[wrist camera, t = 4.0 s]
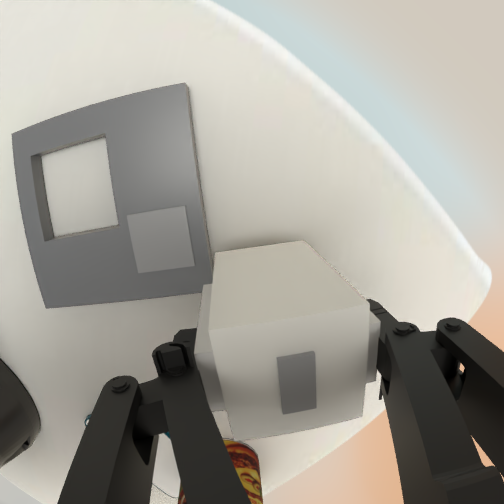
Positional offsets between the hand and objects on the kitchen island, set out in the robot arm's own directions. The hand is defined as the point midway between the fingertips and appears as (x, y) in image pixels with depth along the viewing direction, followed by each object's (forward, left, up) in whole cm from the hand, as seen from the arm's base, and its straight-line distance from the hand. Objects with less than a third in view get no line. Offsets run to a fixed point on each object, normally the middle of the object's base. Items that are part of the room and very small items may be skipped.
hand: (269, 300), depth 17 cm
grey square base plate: (-10, +6, -7) cm, 14 cm away
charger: (0, 0, -2) cm, 2 cm away
